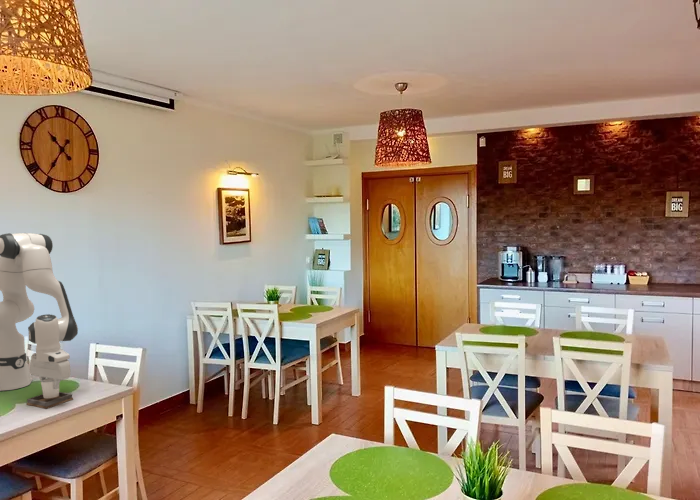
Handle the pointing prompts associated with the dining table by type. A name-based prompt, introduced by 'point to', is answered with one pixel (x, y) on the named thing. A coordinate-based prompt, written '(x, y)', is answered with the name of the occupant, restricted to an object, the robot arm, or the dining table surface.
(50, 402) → the tray
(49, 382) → the white cup
